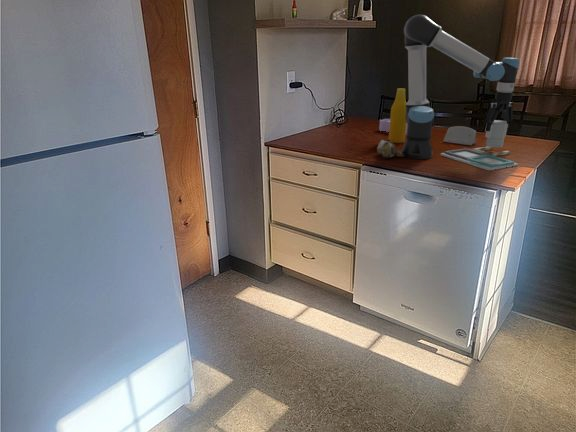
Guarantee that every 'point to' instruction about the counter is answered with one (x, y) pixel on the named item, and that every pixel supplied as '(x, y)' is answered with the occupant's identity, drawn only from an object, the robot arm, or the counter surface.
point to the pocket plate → (478, 159)
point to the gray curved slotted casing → (460, 135)
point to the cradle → (490, 153)
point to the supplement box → (497, 134)
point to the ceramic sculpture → (388, 149)
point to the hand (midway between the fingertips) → (495, 136)
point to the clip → (386, 125)
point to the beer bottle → (398, 118)
